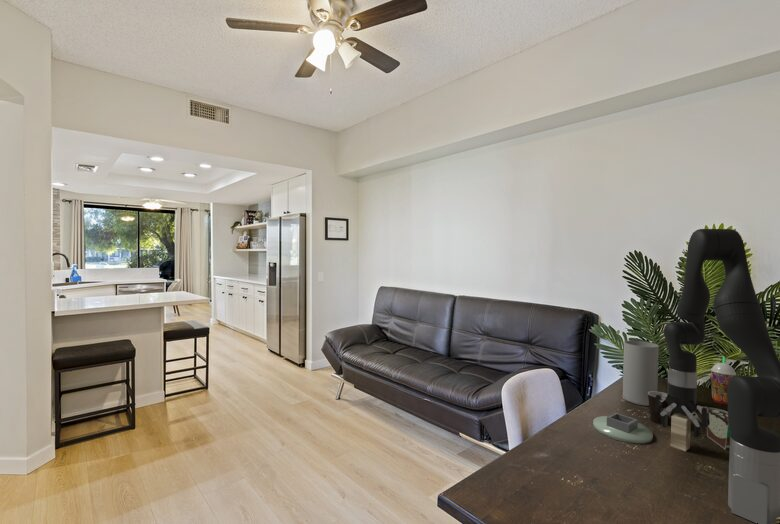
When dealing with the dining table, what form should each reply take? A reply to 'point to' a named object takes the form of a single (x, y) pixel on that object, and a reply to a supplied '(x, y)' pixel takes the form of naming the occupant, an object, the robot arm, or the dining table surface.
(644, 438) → the clip plate
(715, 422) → the food container
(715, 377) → the smoothie
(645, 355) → the cylinder vase
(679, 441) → the beige rectangular block
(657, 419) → the coffee mug
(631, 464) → the dining table surface
